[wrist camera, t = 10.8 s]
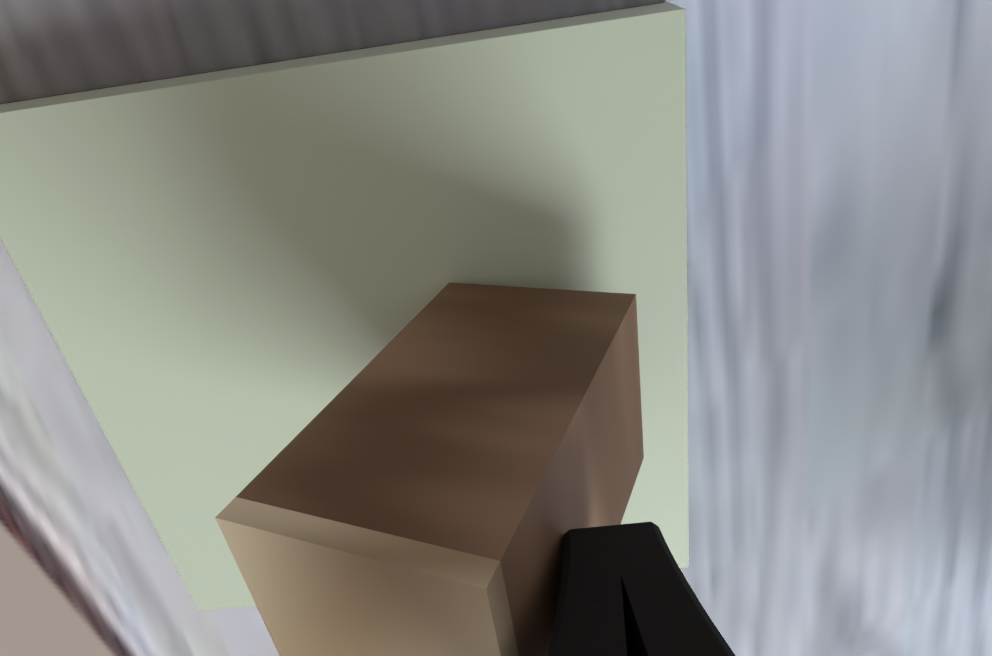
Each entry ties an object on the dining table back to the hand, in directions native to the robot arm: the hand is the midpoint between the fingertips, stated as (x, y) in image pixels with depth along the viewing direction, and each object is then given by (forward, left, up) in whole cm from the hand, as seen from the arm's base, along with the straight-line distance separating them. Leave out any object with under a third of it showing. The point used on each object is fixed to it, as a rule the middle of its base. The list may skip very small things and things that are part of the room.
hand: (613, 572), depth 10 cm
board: (+4, 0, -7) cm, 9 cm away
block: (+1, 0, -5) cm, 5 cm away
